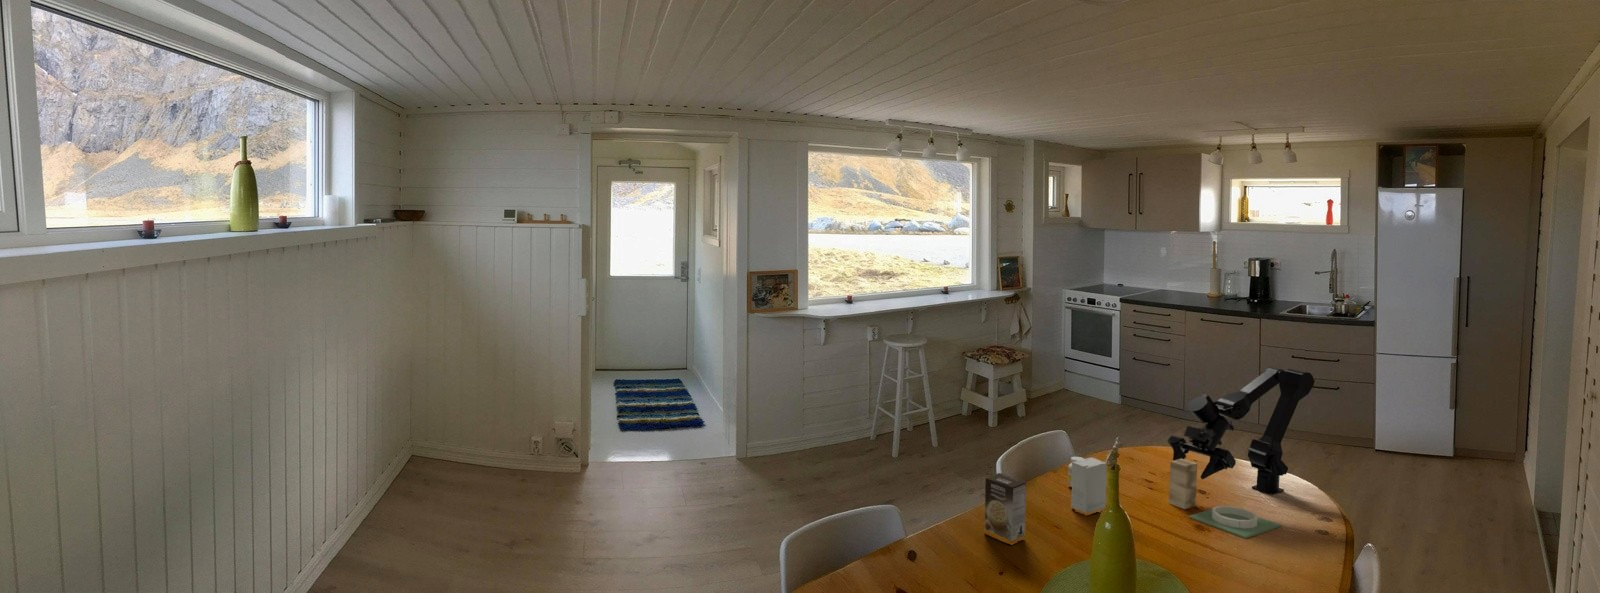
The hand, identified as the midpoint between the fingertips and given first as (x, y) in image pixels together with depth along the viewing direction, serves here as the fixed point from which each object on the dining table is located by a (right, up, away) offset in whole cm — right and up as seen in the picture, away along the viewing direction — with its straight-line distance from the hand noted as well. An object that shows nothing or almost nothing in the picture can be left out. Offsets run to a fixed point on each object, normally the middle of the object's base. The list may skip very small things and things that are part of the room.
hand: (1186, 473), depth 215 cm
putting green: (+6, -10, -13) cm, 18 cm away
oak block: (-1, -9, 0) cm, 9 cm away
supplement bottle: (-27, -8, +15) cm, 32 cm away
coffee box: (-60, -12, -21) cm, 65 cm away
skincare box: (-31, -10, -4) cm, 33 cm away
